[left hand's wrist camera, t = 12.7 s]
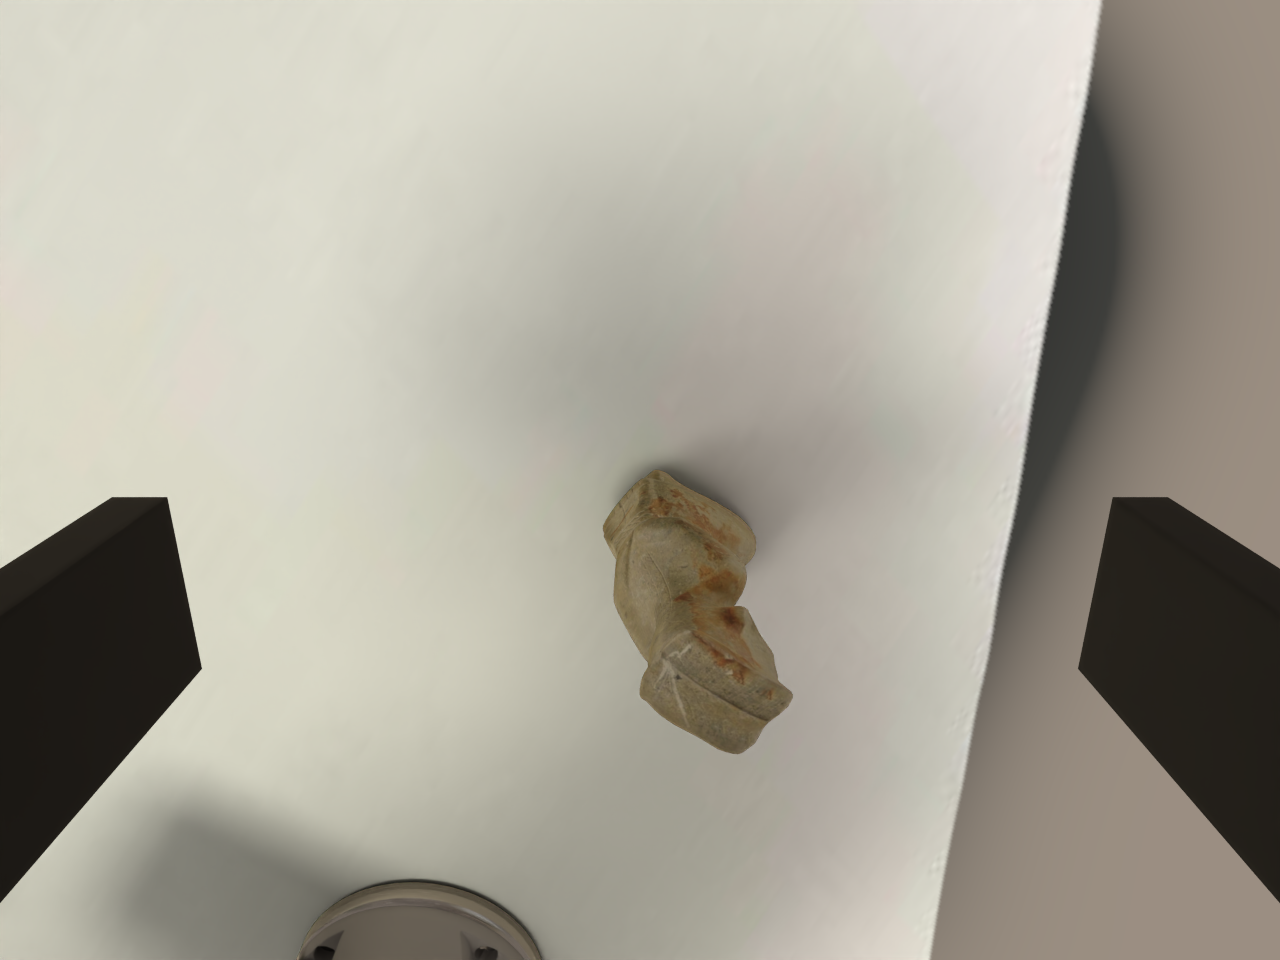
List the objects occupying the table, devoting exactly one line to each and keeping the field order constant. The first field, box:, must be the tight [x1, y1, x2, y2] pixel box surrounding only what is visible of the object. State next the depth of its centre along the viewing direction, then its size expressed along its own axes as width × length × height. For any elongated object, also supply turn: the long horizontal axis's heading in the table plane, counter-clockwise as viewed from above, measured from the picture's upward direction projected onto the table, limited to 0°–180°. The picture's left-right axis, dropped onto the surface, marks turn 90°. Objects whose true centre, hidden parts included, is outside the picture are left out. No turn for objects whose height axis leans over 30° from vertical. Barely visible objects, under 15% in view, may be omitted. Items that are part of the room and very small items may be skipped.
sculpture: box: [603, 470, 793, 754], centre depth 37 cm, size 6×7×15 cm
